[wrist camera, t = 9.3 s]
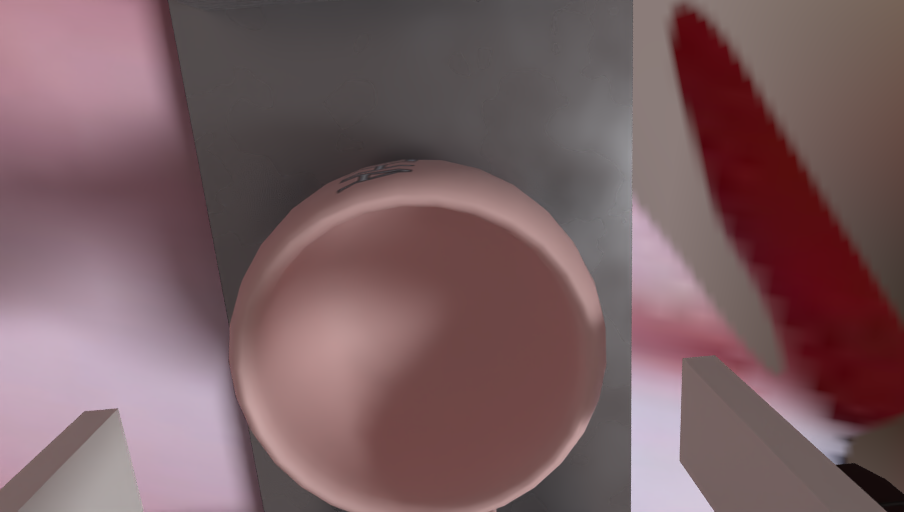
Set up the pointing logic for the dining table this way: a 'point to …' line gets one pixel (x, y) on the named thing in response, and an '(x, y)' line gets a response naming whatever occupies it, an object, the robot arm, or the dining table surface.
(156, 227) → the dining table surface
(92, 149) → the dining table surface
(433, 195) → the mug
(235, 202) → the vise bed
